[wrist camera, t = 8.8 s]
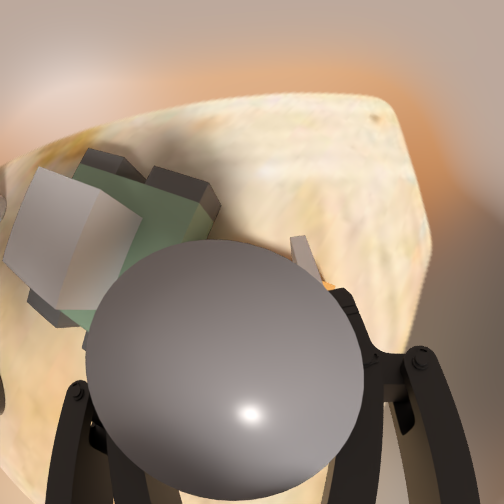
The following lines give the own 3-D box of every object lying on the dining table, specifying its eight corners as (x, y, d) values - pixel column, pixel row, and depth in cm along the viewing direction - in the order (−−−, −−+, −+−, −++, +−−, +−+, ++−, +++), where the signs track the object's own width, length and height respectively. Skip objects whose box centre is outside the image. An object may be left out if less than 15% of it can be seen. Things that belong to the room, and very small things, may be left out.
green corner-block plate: (58, 303, 29) (-18, 297, 16) (112, 169, 32) (53, 116, 19) (271, 418, 25) (268, 492, 12) (341, 250, 28) (391, 211, 15)
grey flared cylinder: (194, 353, 18) (68, 422, 5) (228, 268, 19) (138, 200, 6) (280, 389, 17) (286, 524, 4) (317, 303, 18) (407, 304, 5)
